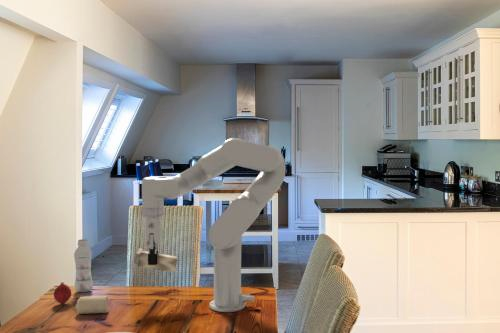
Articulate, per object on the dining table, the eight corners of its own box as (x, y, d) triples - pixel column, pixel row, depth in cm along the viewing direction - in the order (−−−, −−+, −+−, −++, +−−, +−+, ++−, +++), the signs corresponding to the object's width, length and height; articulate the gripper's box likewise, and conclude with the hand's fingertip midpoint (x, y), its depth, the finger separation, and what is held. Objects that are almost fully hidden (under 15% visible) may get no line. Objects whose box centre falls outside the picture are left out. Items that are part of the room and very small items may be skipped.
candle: (104, 302, 160) (73, 303, 159) (106, 316, 162) (75, 317, 161) (107, 292, 165) (77, 293, 164) (108, 306, 167) (78, 307, 166)
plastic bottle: (89, 294, 183) (89, 241, 182) (71, 294, 183) (71, 241, 182) (95, 289, 189) (94, 238, 188) (78, 289, 189) (77, 238, 188)
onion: (74, 304, 172) (74, 281, 172) (58, 308, 168) (58, 285, 167) (66, 300, 176) (66, 278, 176) (51, 304, 172) (50, 282, 171)
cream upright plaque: (175, 268, 177) (178, 255, 177) (174, 274, 169) (176, 260, 169) (136, 261, 176) (139, 248, 176) (133, 267, 168) (136, 253, 168)
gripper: (161, 215, 164) (162, 269, 165) (165, 208, 180) (165, 257, 181) (139, 215, 163) (139, 269, 164) (144, 208, 179) (145, 258, 180)
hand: (153, 262), depth 172 cm, fingers closed on cream upright plaque, 3 cm apart
